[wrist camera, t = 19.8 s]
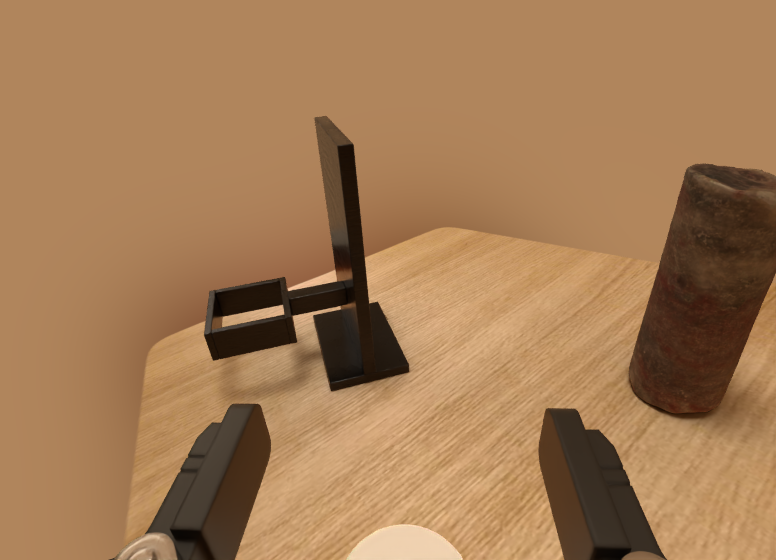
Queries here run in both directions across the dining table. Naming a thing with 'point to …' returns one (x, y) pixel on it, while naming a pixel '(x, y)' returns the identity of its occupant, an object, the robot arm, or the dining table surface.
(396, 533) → the tube
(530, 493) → the dining table surface
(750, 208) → the candle
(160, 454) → the dining table surface
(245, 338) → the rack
